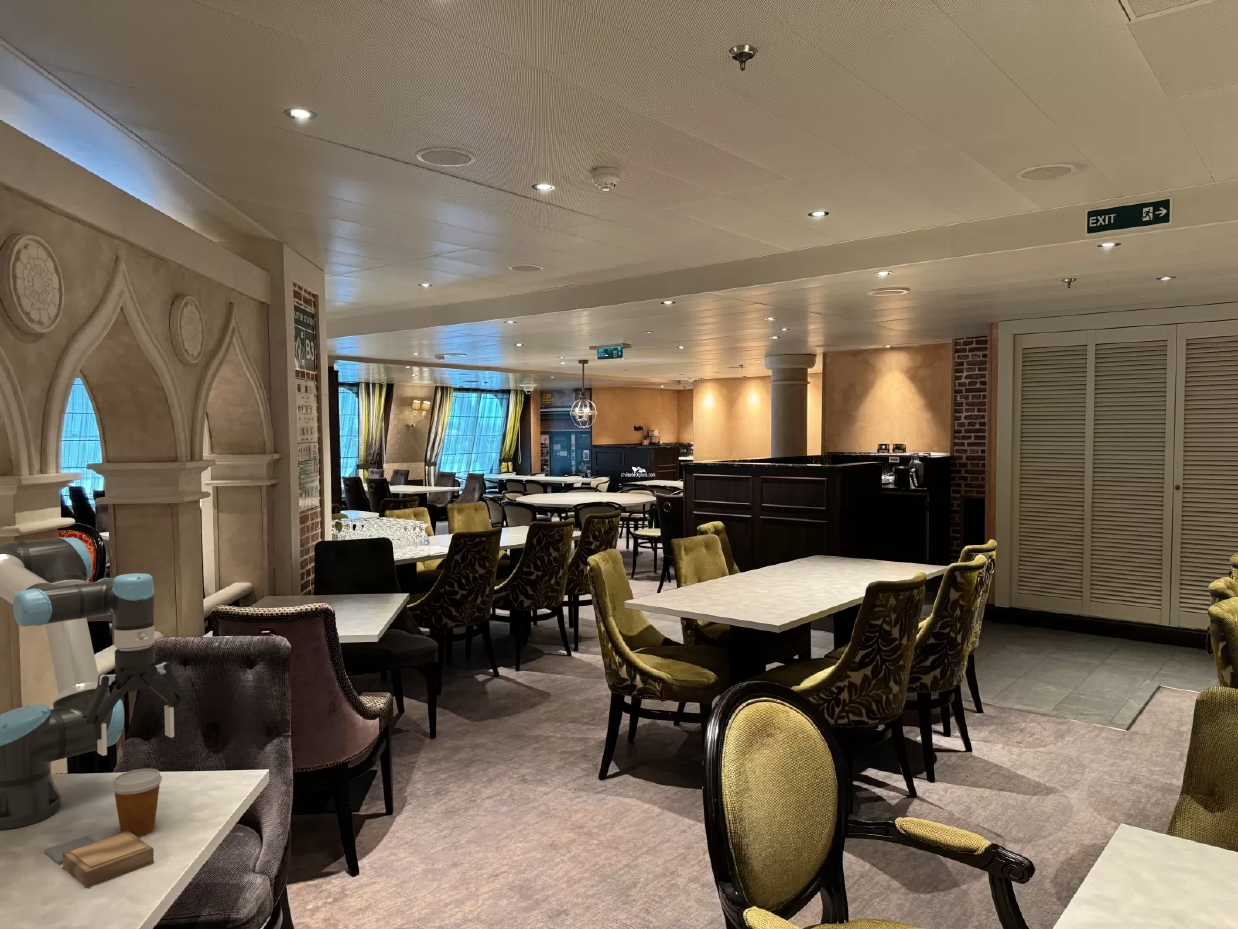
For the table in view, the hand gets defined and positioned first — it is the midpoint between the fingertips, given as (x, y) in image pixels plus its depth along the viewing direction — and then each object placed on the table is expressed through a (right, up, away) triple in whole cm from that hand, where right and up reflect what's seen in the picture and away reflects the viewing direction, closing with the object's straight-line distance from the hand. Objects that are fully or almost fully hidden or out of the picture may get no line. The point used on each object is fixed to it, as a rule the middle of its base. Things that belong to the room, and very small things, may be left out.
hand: (136, 744), depth 183 cm
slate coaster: (-8, -19, -8) cm, 22 cm away
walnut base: (+2, -19, -14) cm, 24 cm away
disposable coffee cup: (0, -19, +1) cm, 19 cm away
